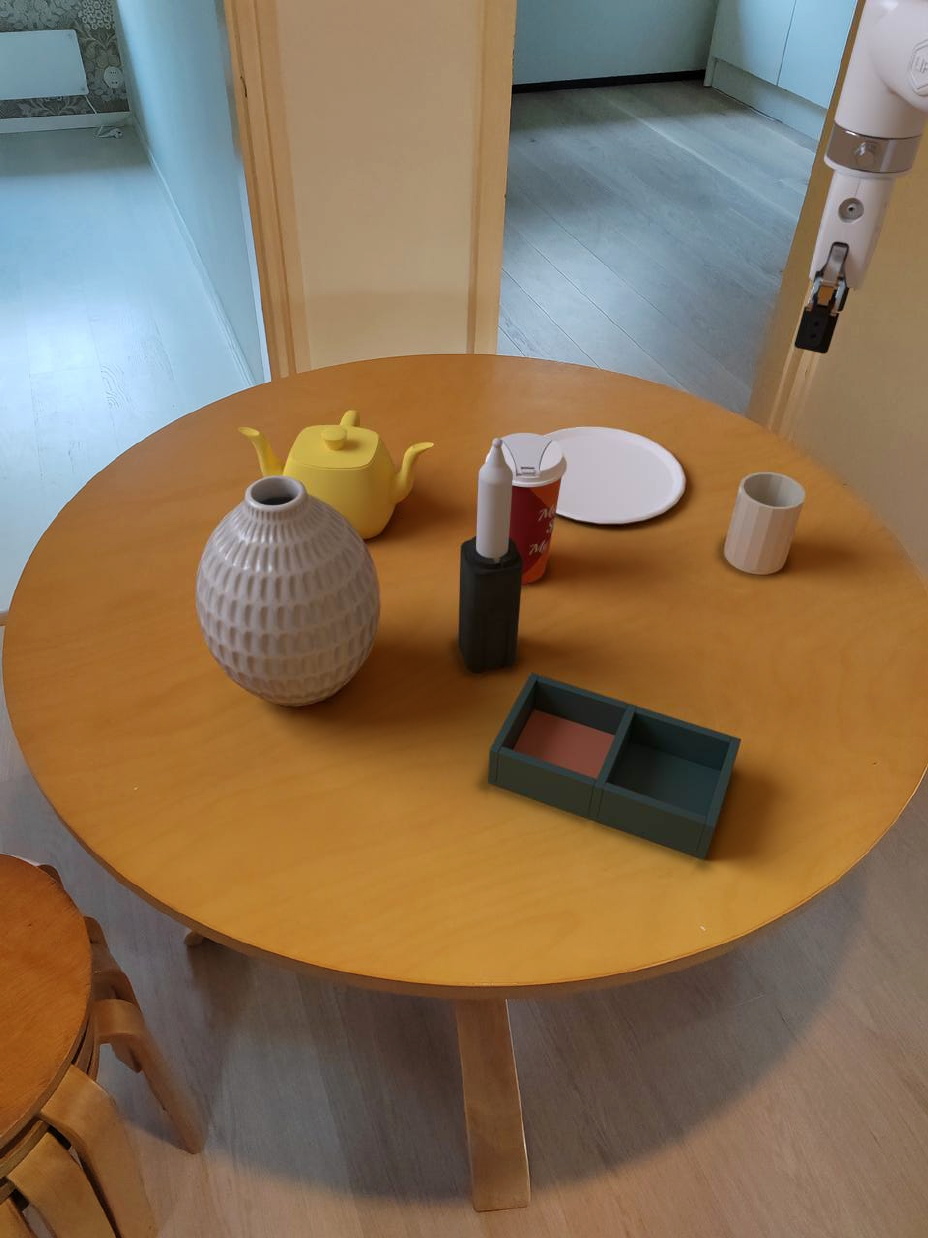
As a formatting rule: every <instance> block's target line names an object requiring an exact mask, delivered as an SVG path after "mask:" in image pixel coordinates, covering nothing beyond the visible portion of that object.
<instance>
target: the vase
mask: <svg viewBox="0 0 928 1238" xmlns="http://www.w3.org/2000/svg"><path fill="white" fill-rule="evenodd" d="M364 540H365V539H362V537H361V536H360V534H359V533H358V531H357V530H356V528H355V527H354V526H353V525H352V524H351V522H350V521H349V520H348V519H347V518H346V517H345V516H344V515H343V514H341V513H340V512H339V511H338V510H336V509H335V508H334V507H332V506H331V505H329V504H328V503H326V502H324V501H322V500H321V499H319V498H317V497H315V496H313V495H311V494H309V493H307V491H306V488H305V486H304V485H303V484H302V483H301V482H300V481H299V480H297V479H294V478H291V477H288V476H269V477H265V478H264V477H262V478H259V479H258V480H255V481H254V482H253V483H251V484H250V485H249V486H248V487H247V488H246V490H245V492H244V499H242V501H240V502H239V503H238V504H237V505H236V506H235V507H233V509H232V510H230V511H229V512H228V513H227V514H226V515H225V516H224V517H223V518H222V519H221V521H220V522H219V523H218V524H217V526H216V527H215V528H213V531H212V533H211V534H210V536H209V538H208V539H207V542H206V544H205V546H204V548H203V551H202V553H201V558H200V561H199V562H198V563H199V564H198V566H197V572H196V580H195V590H194V591H195V594H194V595H195V606H196V607H195V609H196V612H197V618H198V623H199V626H200V631H201V634H202V636H203V638H204V641H205V643H206V646H207V647H208V649H209V652H210V654H211V656H212V657H213V659H214V660H215V661H216V663H217V664H218V666H219V667H220V668H221V670H223V672H224V673H225V675H227V677H228V678H229V679H231V680H232V681H233V682H234V683H235V684H236V685H238V686H239V687H240V688H242V689H244V690H245V691H246V692H248V693H249V694H251V695H253V696H255V697H256V698H258V699H261V700H263V701H266V702H268V703H271V704H275V705H278V706H284V707H302V706H308V705H313V704H316V703H318V702H322V701H324V700H327V699H328V698H331V697H332V696H333V695H334V694H336V693H338V692H339V691H340V690H341V689H342V688H343V687H344V686H346V685H347V684H348V683H349V682H350V681H351V680H352V679H353V677H354V676H355V675H356V674H358V671H359V670H360V669H361V668H362V666H363V665H364V664H365V662H366V661H367V659H368V657H369V655H370V653H371V650H372V648H373V645H374V643H375V641H376V637H377V634H378V630H379V625H380V618H381V608H382V605H381V588H380V582H379V576H378V571H377V567H376V565H375V562H374V559H373V557H372V554H371V552H370V550H369V547H368V545H367V543H366V541H364Z"/></svg>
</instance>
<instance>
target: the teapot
mask: <svg viewBox="0 0 928 1238" xmlns="http://www.w3.org/2000/svg"><path fill="white" fill-rule="evenodd" d="M237 429H238V432H240V433H241V434H242V435H243V436H245V437H246V438H247V439H248V440H249V441H250V442H251V443H252V445H253V447H254V448H255V451H256V454H257V456H258V462H259V466H260V471H261V474H262V476H263V477H262V478H265V477H269V476H288V477H291V478H294V479H297V480H299V481H300V482H301V483H302V484H303V485H304V486H305V488H306V491H307V493H309V494H311V495H313V496H315V497H317V498H319V499H321V500H322V501H324V502H326V503H328V504H329V505H331V506H332V507H334V508H335V509H336V510H338V511H339V512H340V513H341V514H343V515H344V516H345V517H346V518H347V519H348V520H349V521H350V522H351V524H352V525H353V526H354V527H355V528H356V530H357V531H358V533H359V534H360V536H361V537H362V539H363V540H367V539H372V538H374V537H377V536H379V535H380V534H381V533H382V532H383V531H384V529H385V528H386V526H387V525H388V523H389V521H390V519H391V518H392V515H393V513H394V511H395V509H396V505H397V504H398V503H400V502H402V501H403V500H404V499H405V498H407V497H408V496H409V494H410V492H411V490H412V488H413V486H414V482H415V476H416V467H417V462H418V460H419V458H420V456H421V455H422V454H423V453H424V452H426V451H428V450H429V449H431V448H433V447H434V445H435V444H434V443H433V442H427V441H425V442H419V443H415V444H413V445H411V446H410V447H409V448H408V449H406V452H405V453H404V455H403V460H402V465H401V468H400V470H399V471H397V470H396V467H395V464H394V460H393V457H392V456H391V454H390V451H389V449H388V447H387V446H386V444H385V442H384V441H383V439H382V437H381V436H380V434H378V433H377V432H375V431H373V430H371V429H368V428H364V427H361V416H360V414H359V412H358V411H357V410H354V409H353V410H352V409H351V410H348V411H346V412H345V413H344V414H343V416H342V418H341V420H340V423H339V424H317V425H316V424H315V425H310V426H307V427H305V428H303V429H302V430H301V431H300V432H299V434H298V435H297V437H296V438H295V440H294V443H293V445H292V447H291V448H290V451H289V454H288V455H287V459H286V462H285V463H284V462H282V461H281V460H280V459H279V458H278V457H277V456H276V455H275V453H274V451H273V449H272V446H271V444H270V442H269V440H268V439H267V438H266V436H265V435H264V434H263V433H262V432H260V431H259V430H257V429H254V428H251V427H247V426H239V427H238V428H237Z"/></svg>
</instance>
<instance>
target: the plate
mask: <svg viewBox="0 0 928 1238" xmlns="http://www.w3.org/2000/svg"><path fill="white" fill-rule="evenodd" d="M542 436H545V437H547V438H550V439H552V440H554V441H555V442H556V443H558V445H559V446H560V447H561V449H562V451H563V455H564V458H565V460H566V463H567V469H566V472H565V473H564V475H563V476H562V479H561V485H560V491H559V496H558V502H557V508H556V514H555V515H557V516H561V517H563V518H565V519H569V520H572V521H575V522H580V523H586V524H592V525H598V526H599V525H600V526H624V525H630V524H636V523H641V522H646V521H649V520H651V519H654V518H656V517H659V516H661V515H664V514H665V513H667V512H668V511H669V510H670V509H672V508H674V507H675V506H676V505H677V504H678V502H679V501H680V499H681V498H682V496H683V495H684V494H685V490H686V489H685V488H686V483H687V478H686V473H685V472H684V469H683V466H682V465H681V463H680V462H679V461H678V459H676V457H675V456H674V454H673V453H671V452H670V451H669V450H667V448H665V447H664V446H663V445H661V444H660V443H658V442H656V441H653V440H652V439H649V438H647V437H645V436H643V435H641V434H637V433H634V432H630V431H627V430H623V429H619V428H611V427H606V426H577V427H576V426H575V427H569V428H561V429H559V430H555V431H552V432H549V433H546V434H543V435H542Z"/></svg>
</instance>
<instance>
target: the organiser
mask: <svg viewBox="0 0 928 1238" xmlns="http://www.w3.org/2000/svg"><path fill="white" fill-rule="evenodd" d="M741 742H742V739H741V738H739V737H737V736H734V735H730V734H727V733H723V732H722V731H721V732H720V731H717V730H714V729H711V728H708V727H704V726H701V725H698V724H695V723H692V722H689V721H686V720H682V719H679V718H676V717H673V716H670V715H667V714H664V713H660V712H658V711H654V710H651V709H648V708H645V707H643V706H638V705H636V704H633V703H628V702H626V701H624V700H619V699H616V698H613V697H611V696H607V695H604V694H601V693H597V692H594V691H592V690H588V689H585V688H582V687H580V686H576V685H573V684H569V683H566V682H564V681H560V680H558V679H553V678H551V677H548V676H544V675H542V674H539V673H536V672H530V674H529V676H528V677H527V679H526V681H525V683H524V685H523V686H522V689H521V690H520V692H519V694H518V696H517V697H516V700H515V702H514V703H513V705H512V708H510V711H509V712H508V714H507V717H506V718H505V720H504V722H503V723H502V726H501V728H500V729H499V731H498V733H497V735H496V737H495V739H494V740H493V743H492V744H491V746H490V748H489V754H488V755H489V757H488V773H487V774H488V775H487V784H489V785H493V786H495V787H497V788H501V789H503V790H505V791H508V792H512V793H515V794H518V795H520V796H523V797H526V798H528V799H532V800H534V801H537V802H540V803H543V804H546V805H549V806H551V807H554V808H557V809H560V810H563V811H565V812H568V813H571V814H574V815H576V816H579V817H581V818H585V819H587V820H591V821H593V822H596V823H599V824H601V825H605V826H607V827H610V828H613V829H616V830H619V831H622V832H625V833H627V834H630V835H633V836H636V837H638V838H641V839H644V840H647V841H648V842H649V841H650V842H652V843H655V844H658V845H661V846H663V847H665V848H669V849H672V850H674V851H678V852H681V853H683V854H686V855H689V856H691V857H695V858H697V859H700V860H703V861H705V860H706V857H707V855H708V852H709V848H710V845H711V842H712V839H713V836H714V832H715V830H716V827H717V823H718V819H719V816H720V814H721V813H720V812H721V809H722V806H723V803H724V801H725V800H724V799H725V796H726V793H727V789H728V786H729V782H730V779H731V775H732V773H733V769H734V765H735V762H736V759H737V755H738V752H739V748H740V745H741Z"/></svg>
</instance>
